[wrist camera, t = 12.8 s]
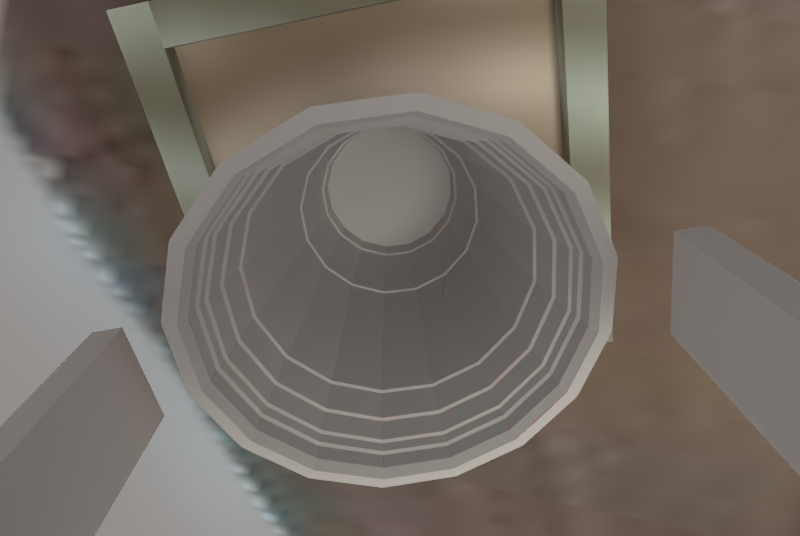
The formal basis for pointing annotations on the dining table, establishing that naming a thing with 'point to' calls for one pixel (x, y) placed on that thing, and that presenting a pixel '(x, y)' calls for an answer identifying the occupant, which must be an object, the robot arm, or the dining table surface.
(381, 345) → the plastic cup
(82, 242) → the dining table surface
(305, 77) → the stand
